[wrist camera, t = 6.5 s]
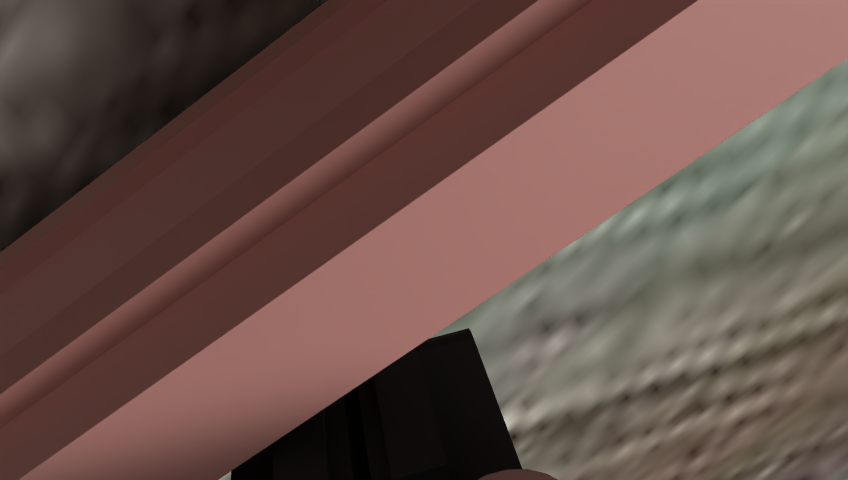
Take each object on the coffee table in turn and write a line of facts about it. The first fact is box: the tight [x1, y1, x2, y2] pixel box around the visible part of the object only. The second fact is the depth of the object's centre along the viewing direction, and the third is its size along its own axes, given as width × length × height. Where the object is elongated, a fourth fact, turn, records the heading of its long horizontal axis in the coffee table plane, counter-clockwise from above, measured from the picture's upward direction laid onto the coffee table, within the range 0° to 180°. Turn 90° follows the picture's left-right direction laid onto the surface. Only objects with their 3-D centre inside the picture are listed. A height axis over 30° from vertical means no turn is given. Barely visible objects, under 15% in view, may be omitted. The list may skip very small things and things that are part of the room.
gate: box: [0, 0, 848, 480], centre depth 10 cm, size 18×2×8 cm, turn 124°
